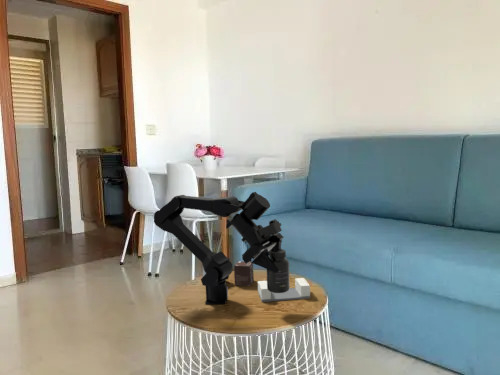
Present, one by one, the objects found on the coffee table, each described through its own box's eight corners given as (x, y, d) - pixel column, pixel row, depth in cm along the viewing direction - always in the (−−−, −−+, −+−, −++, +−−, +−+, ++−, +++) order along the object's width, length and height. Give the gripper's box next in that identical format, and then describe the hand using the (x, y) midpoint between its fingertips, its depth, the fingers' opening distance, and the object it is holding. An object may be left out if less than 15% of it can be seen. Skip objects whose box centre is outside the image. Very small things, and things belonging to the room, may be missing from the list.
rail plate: (261, 302, 135) (261, 289, 134) (257, 292, 144) (257, 280, 143) (310, 298, 137) (310, 286, 136) (303, 288, 146) (303, 277, 145)
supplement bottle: (263, 287, 129) (262, 249, 127) (283, 284, 131) (283, 246, 130) (272, 295, 122) (271, 254, 121) (293, 291, 125) (292, 252, 123)
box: (250, 286, 150) (250, 266, 150) (234, 285, 152) (233, 265, 151) (254, 280, 156) (253, 261, 155) (238, 280, 157) (237, 261, 157)
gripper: (250, 217, 118) (287, 260, 114) (277, 207, 134) (310, 244, 130) (227, 242, 122) (262, 284, 118) (255, 230, 139) (287, 266, 135)
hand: (282, 268), depth 125 cm, fingers closed on supplement bottle, 7 cm apart
